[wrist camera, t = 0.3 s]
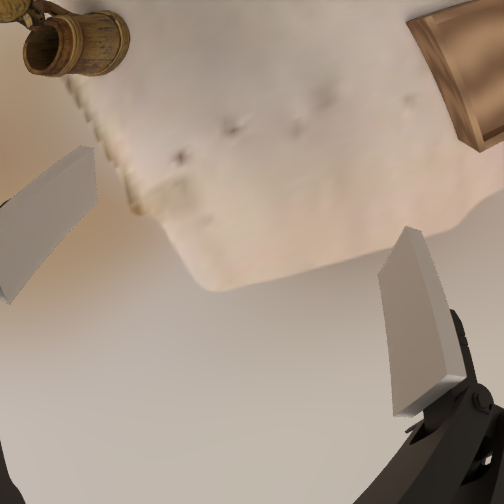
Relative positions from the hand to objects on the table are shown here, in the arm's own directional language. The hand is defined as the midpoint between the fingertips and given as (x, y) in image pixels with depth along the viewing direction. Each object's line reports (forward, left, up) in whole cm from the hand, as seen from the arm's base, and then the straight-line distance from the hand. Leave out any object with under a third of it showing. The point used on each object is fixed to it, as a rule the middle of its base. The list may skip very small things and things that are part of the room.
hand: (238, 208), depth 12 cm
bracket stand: (-13, +25, -26) cm, 38 cm away
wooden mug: (-10, -23, -26) cm, 36 cm away
